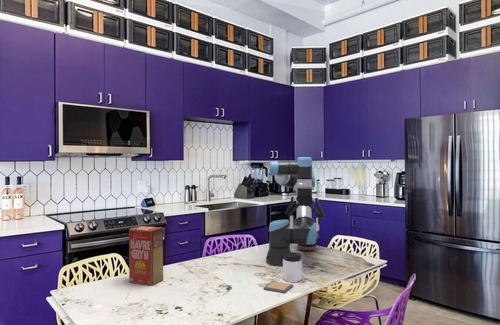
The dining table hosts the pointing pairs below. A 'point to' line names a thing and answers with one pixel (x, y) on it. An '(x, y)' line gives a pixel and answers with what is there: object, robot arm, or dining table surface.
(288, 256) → the jar
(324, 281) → the dining table surface
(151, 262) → the food packaging
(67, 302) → the dining table surface
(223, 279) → the dining table surface
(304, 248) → the flowerpot
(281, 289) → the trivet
